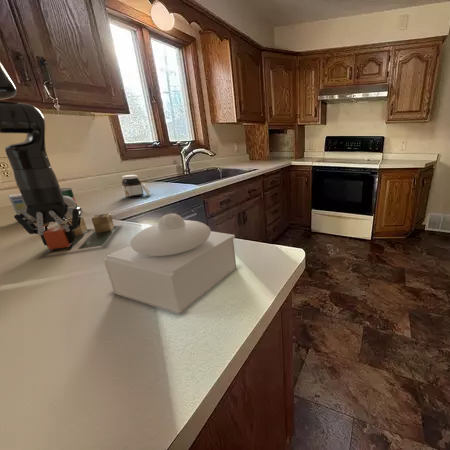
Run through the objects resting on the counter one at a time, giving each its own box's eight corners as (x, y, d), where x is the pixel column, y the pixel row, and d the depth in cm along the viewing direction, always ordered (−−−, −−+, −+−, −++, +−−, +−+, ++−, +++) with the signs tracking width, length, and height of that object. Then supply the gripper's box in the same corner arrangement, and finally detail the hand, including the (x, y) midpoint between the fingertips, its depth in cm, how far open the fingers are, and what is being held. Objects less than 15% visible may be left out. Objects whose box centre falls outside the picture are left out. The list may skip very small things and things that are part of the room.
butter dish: (114, 295, 50) (91, 222, 45) (183, 256, 66) (172, 199, 60) (179, 316, 44) (161, 234, 38) (238, 268, 60) (231, 205, 54)
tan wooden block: (95, 232, 81) (91, 218, 79) (99, 228, 84) (95, 214, 83) (111, 230, 82) (106, 216, 80) (114, 226, 86) (110, 213, 84)
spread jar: (123, 197, 135) (117, 175, 131) (144, 193, 143) (140, 173, 139) (132, 199, 128) (127, 177, 124) (154, 195, 137) (150, 174, 133)
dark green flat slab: (41, 259, 66) (39, 255, 65) (71, 234, 83) (70, 231, 83) (104, 249, 71) (103, 245, 71) (120, 227, 88) (119, 224, 88)
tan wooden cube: (66, 236, 78) (61, 221, 76) (72, 232, 81) (66, 217, 80) (83, 234, 79) (78, 219, 78) (87, 230, 83) (82, 216, 81)
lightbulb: (60, 228, 89) (49, 198, 85) (61, 224, 93) (50, 195, 89) (82, 224, 92) (72, 195, 89) (82, 220, 97) (72, 193, 93)
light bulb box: (54, 214, 105) (45, 189, 101) (58, 217, 101) (48, 191, 98) (18, 221, 97) (6, 194, 93) (21, 224, 93) (9, 196, 90)
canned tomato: (51, 217, 101) (40, 191, 97) (73, 212, 108) (64, 187, 104) (62, 219, 98) (52, 192, 95) (84, 213, 105) (75, 188, 102)
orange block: (49, 249, 68) (42, 232, 66) (56, 244, 72) (49, 227, 70) (68, 247, 70) (62, 230, 68) (74, 241, 73) (68, 225, 72)
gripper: (78, 181, 71) (96, 235, 76) (11, 185, 65) (36, 243, 71) (67, 185, 64) (87, 244, 70) (-8, 190, 59) (20, 254, 65)
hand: (61, 244), depth 71 cm, fingers closed on orange block, 4 cm apart
